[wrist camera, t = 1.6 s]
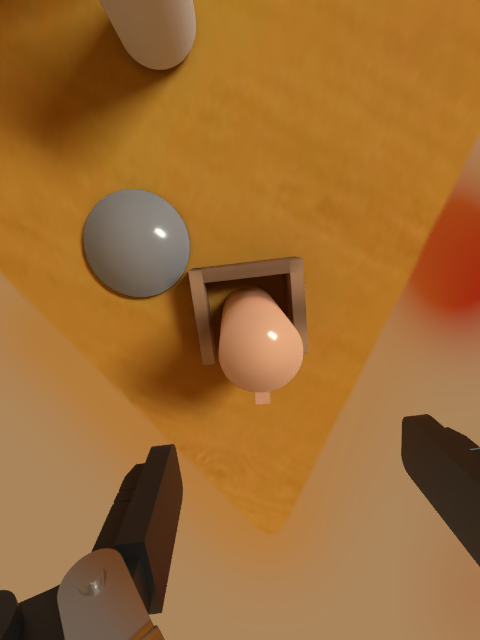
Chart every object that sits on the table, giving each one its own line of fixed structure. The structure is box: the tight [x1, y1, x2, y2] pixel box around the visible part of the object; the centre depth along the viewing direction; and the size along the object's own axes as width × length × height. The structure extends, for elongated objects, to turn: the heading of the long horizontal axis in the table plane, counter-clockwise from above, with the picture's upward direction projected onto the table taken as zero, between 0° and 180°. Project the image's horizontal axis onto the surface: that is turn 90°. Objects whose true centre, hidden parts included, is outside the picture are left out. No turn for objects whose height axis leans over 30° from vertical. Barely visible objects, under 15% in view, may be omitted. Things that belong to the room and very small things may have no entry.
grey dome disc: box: [83, 189, 190, 297], centre depth 29 cm, size 10×10×1 cm
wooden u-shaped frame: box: [188, 257, 308, 366], centre depth 30 cm, size 9×10×3 cm
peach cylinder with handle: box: [219, 286, 303, 405], centre depth 26 cm, size 8×6×12 cm, turn 6°
